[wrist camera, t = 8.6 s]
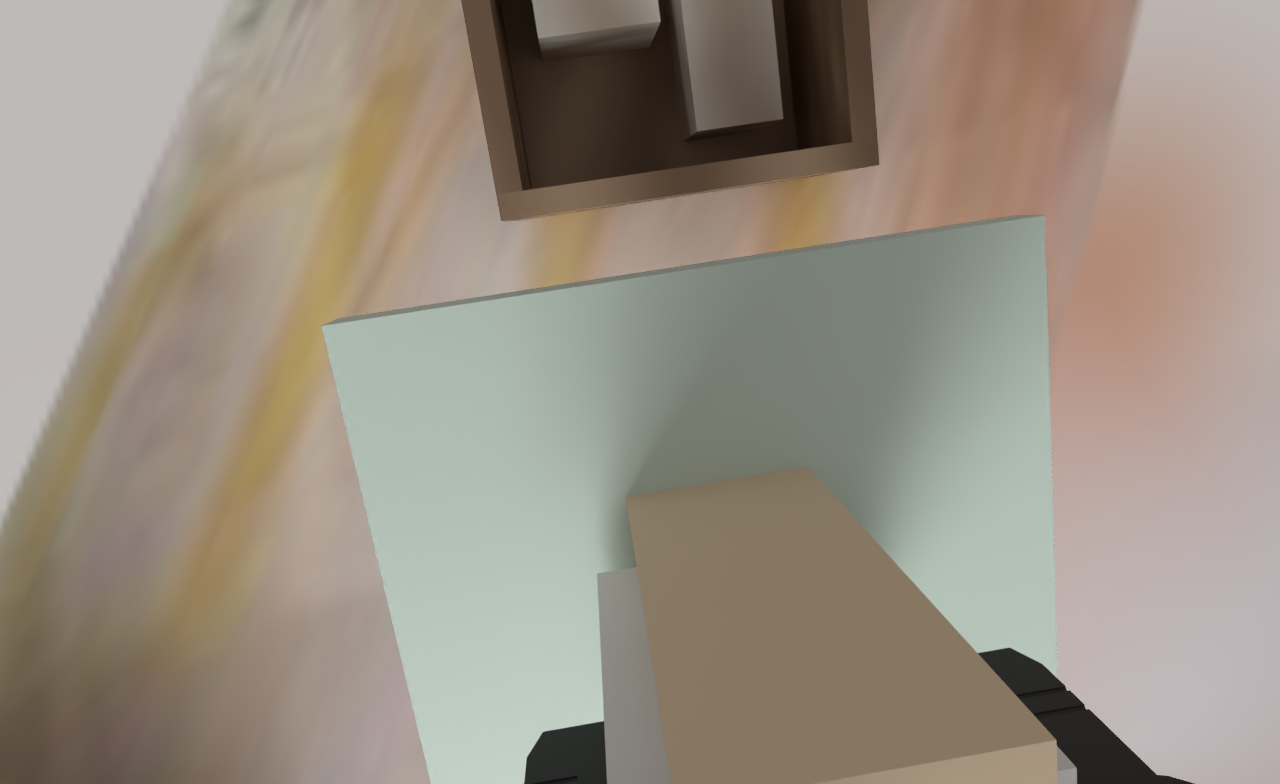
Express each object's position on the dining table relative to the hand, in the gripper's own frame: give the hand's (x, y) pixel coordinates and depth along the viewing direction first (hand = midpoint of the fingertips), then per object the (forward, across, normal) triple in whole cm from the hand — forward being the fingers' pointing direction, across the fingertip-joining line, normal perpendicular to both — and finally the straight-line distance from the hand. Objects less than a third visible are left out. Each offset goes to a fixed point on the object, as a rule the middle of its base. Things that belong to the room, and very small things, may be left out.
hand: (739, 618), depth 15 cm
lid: (+2, 0, 0) cm, 2 cm away
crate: (+19, +2, +14) cm, 24 cm away
